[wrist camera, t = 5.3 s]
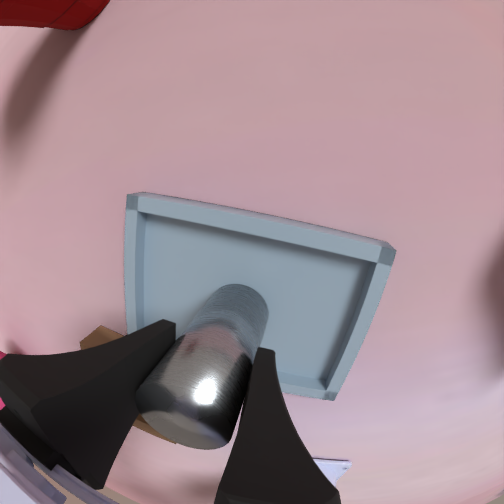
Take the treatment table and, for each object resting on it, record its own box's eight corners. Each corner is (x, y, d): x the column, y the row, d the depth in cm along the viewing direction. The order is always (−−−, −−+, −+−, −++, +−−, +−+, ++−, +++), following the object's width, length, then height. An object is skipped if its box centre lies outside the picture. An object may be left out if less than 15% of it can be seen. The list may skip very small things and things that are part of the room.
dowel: (253, 346, 15) (213, 459, 8) (201, 321, 15) (131, 417, 8) (279, 301, 14) (249, 418, 7) (221, 273, 14) (141, 364, 7)
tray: (332, 384, 16) (333, 400, 15) (139, 332, 18) (128, 343, 16) (387, 242, 13) (396, 250, 11) (142, 191, 15) (126, 194, 13)
